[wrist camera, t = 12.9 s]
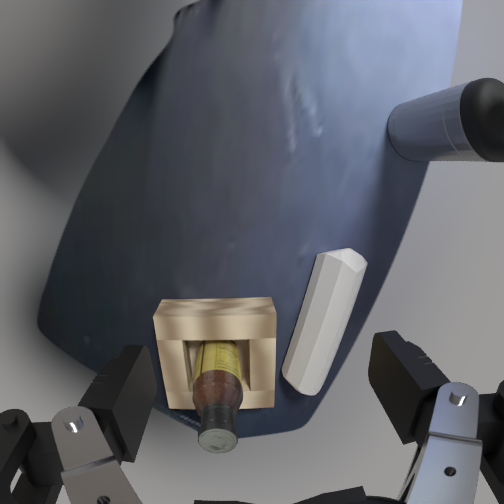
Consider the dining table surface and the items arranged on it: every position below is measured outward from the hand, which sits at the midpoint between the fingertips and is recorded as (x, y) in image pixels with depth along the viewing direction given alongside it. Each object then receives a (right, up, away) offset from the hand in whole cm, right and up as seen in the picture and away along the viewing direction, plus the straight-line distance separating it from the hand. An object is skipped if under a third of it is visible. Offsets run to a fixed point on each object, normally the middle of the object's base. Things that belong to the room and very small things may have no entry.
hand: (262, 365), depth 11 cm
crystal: (+10, -6, +38) cm, 40 cm away
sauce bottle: (-5, -11, +37) cm, 39 cm away
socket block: (-5, -11, +37) cm, 39 cm away
